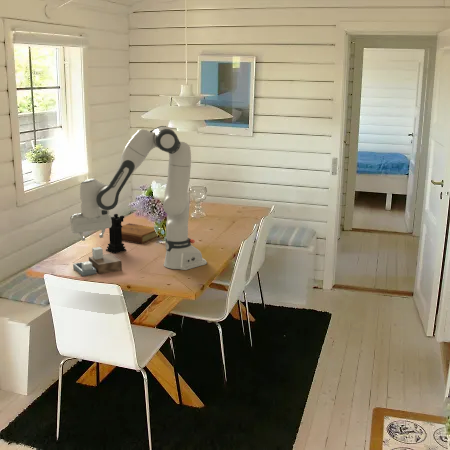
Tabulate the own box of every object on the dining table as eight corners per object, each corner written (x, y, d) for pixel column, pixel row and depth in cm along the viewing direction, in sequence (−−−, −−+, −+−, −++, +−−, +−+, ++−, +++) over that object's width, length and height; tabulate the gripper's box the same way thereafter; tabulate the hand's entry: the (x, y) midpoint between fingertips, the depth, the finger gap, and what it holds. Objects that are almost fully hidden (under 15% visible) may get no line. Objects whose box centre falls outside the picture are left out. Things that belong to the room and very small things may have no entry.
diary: (110, 239, 351) (110, 230, 350) (129, 232, 367) (129, 223, 366) (141, 244, 341) (141, 235, 339) (160, 237, 357) (159, 227, 355)
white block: (100, 256, 302) (99, 246, 301) (102, 258, 299) (102, 248, 298) (92, 257, 300) (92, 248, 299) (95, 259, 297) (94, 250, 296)
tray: (86, 266, 302) (86, 261, 302) (96, 274, 291) (96, 269, 290) (73, 268, 299) (73, 263, 298) (82, 276, 287) (82, 271, 287)
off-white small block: (89, 270, 295) (89, 261, 293) (92, 272, 291) (92, 263, 290) (82, 271, 293) (81, 262, 291) (84, 274, 289) (84, 264, 288)
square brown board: (111, 262, 308) (110, 253, 307) (121, 270, 297) (121, 260, 296) (89, 266, 302) (88, 257, 301) (99, 274, 291) (98, 264, 289)
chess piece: (126, 250, 328) (125, 215, 323) (114, 253, 323) (113, 218, 317) (117, 247, 334) (116, 213, 328) (106, 250, 328) (104, 215, 323)
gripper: (72, 216, 281) (74, 243, 284) (112, 210, 291) (113, 237, 295) (67, 213, 286) (69, 240, 289) (107, 208, 297) (108, 234, 300)
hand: (92, 239), depth 292 cm, fingers open, 8 cm apart
